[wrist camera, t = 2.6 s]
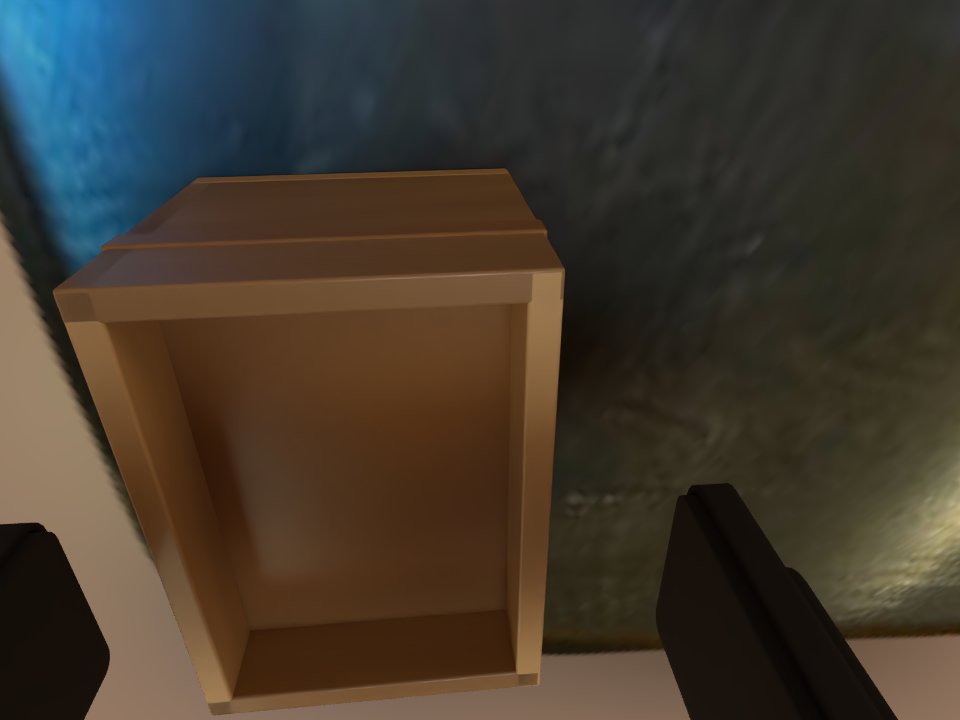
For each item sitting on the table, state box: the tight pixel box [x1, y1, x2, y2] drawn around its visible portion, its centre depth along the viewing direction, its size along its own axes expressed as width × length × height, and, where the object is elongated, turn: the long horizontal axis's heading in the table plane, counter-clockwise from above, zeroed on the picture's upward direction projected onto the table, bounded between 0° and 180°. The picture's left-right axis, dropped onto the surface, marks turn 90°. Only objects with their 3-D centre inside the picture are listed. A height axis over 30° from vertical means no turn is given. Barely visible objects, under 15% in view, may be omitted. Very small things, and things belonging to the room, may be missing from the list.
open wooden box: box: [53, 168, 565, 715], centre depth 13 cm, size 9×7×6 cm
